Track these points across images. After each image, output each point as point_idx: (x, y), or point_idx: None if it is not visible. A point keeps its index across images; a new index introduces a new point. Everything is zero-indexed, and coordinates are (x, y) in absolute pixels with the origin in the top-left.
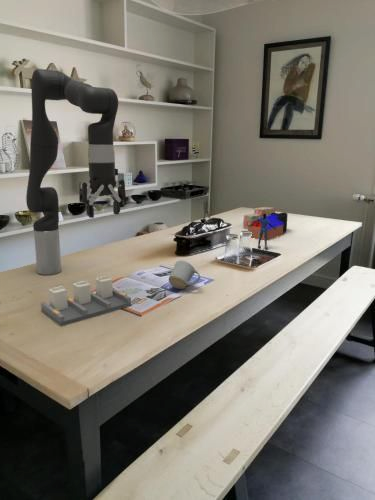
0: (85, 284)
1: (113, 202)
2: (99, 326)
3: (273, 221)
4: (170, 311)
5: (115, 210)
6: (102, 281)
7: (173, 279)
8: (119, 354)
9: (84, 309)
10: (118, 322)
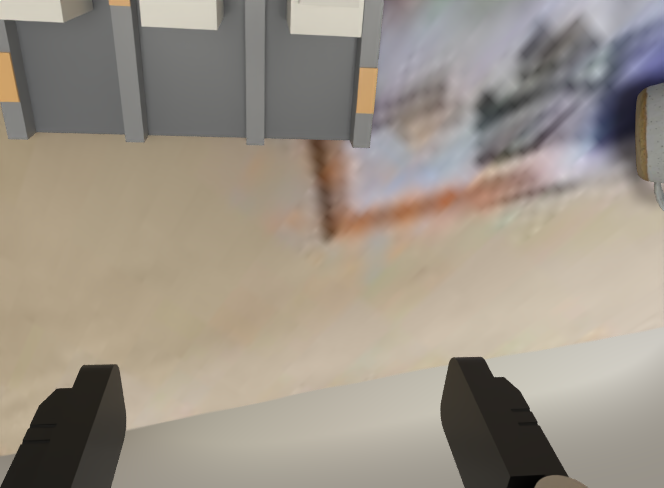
0: (194, 11)
1: (503, 478)
2: (159, 218)
3: None
4: (432, 268)
5: (458, 423)
6: (298, 33)
7: (636, 142)
8: (129, 389)
9: (133, 132)
10: (233, 232)
